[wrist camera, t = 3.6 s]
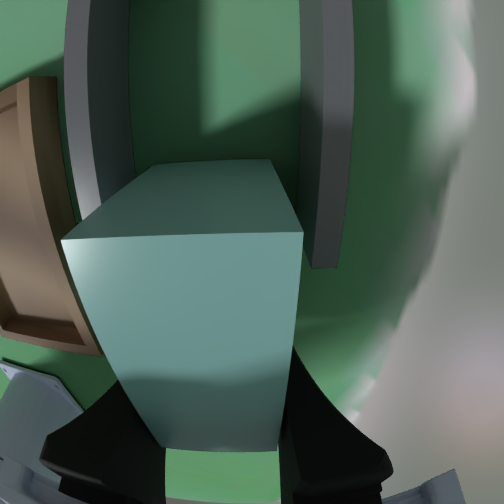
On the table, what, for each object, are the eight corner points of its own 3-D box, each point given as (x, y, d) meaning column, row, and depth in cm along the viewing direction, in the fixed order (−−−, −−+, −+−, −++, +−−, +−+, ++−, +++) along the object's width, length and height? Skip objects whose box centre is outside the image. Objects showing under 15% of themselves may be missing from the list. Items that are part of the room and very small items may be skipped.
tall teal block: (265, 353, 14) (274, 462, 9) (187, 353, 14) (170, 459, 9) (269, 159, 9) (303, 232, 4) (154, 164, 9) (60, 240, 4)
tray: (112, 332, 14) (101, 356, 12) (14, 319, 14) (2, 336, 12) (56, 76, 7) (28, 76, 6) (-44, 128, 7) (-65, 136, 6)
